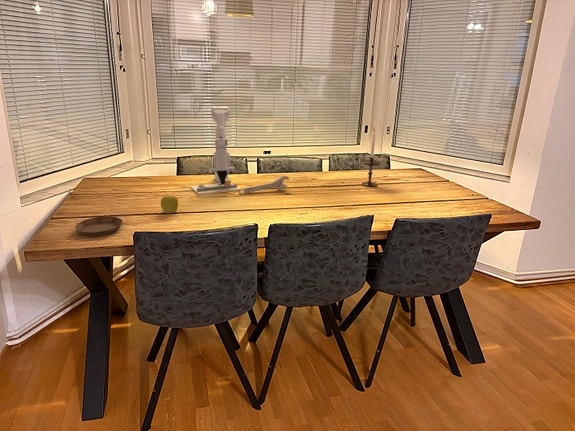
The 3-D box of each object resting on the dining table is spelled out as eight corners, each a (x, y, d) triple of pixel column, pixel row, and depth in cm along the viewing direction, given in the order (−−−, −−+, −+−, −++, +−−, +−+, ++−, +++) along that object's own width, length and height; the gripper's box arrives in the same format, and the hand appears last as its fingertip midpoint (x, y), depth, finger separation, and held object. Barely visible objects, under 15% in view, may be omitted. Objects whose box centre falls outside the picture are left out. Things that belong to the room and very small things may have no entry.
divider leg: (219, 183, 234) (218, 176, 233) (224, 183, 236) (223, 175, 234) (225, 188, 225) (225, 180, 223) (231, 187, 226) (230, 180, 225)
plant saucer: (87, 242, 154) (86, 234, 153) (69, 230, 165) (68, 223, 164) (131, 230, 167) (130, 223, 166) (111, 220, 178) (110, 213, 177)
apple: (171, 214, 183) (165, 193, 181) (160, 216, 187) (154, 195, 186) (184, 209, 189) (178, 189, 188) (173, 211, 194) (167, 191, 192)
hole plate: (190, 187, 230) (190, 186, 229) (230, 183, 240) (230, 181, 240) (198, 195, 216) (198, 193, 216) (240, 190, 227) (240, 188, 227)
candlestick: (358, 186, 242) (363, 127, 231) (362, 182, 252) (367, 125, 240) (376, 188, 238) (382, 128, 227) (379, 184, 248) (385, 126, 236)
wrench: (239, 198, 223) (289, 187, 233) (240, 199, 221) (290, 188, 232) (237, 184, 220) (287, 174, 230) (238, 185, 218) (289, 175, 229)
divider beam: (192, 188, 228) (192, 184, 227) (230, 184, 238) (230, 180, 237) (197, 193, 219) (197, 189, 218) (237, 189, 230) (237, 184, 229)
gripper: (211, 162, 214) (212, 187, 219) (236, 160, 221) (237, 184, 225) (207, 159, 220) (208, 184, 224) (232, 158, 227) (232, 181, 231)
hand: (222, 184), depth 225 cm, fingers closed
